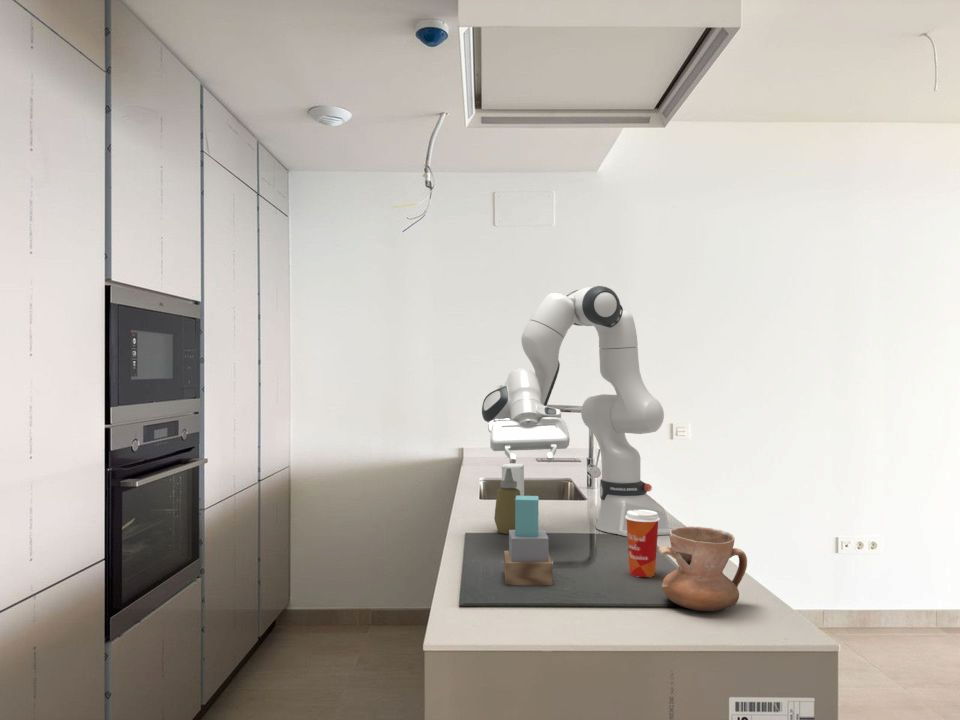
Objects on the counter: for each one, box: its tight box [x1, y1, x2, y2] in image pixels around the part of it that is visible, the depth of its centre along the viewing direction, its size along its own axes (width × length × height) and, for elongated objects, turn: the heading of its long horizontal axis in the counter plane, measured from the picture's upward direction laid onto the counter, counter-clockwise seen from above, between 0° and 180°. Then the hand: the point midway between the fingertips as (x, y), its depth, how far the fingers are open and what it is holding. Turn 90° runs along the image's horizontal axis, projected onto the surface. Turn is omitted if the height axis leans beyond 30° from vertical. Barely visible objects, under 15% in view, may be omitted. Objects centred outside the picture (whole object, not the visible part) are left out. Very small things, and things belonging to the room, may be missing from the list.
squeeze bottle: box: [494, 468, 520, 535], centre depth 196 cm, size 8×8×18 cm
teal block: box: [515, 495, 539, 537], centre depth 153 cm, size 5×5×8 cm
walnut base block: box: [503, 550, 553, 587], centre depth 153 cm, size 10×10×5 cm
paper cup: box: [625, 510, 660, 578], centre depth 156 cm, size 8×8×14 cm
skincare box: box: [501, 463, 525, 496], centre depth 222 cm, size 8×7×16 cm
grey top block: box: [508, 529, 550, 562], centre depth 153 cm, size 8×8×5 cm
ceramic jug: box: [658, 525, 748, 612], centre depth 136 cm, size 18×14×14 cm
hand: (531, 461), depth 171 cm, fingers open, 8 cm apart
